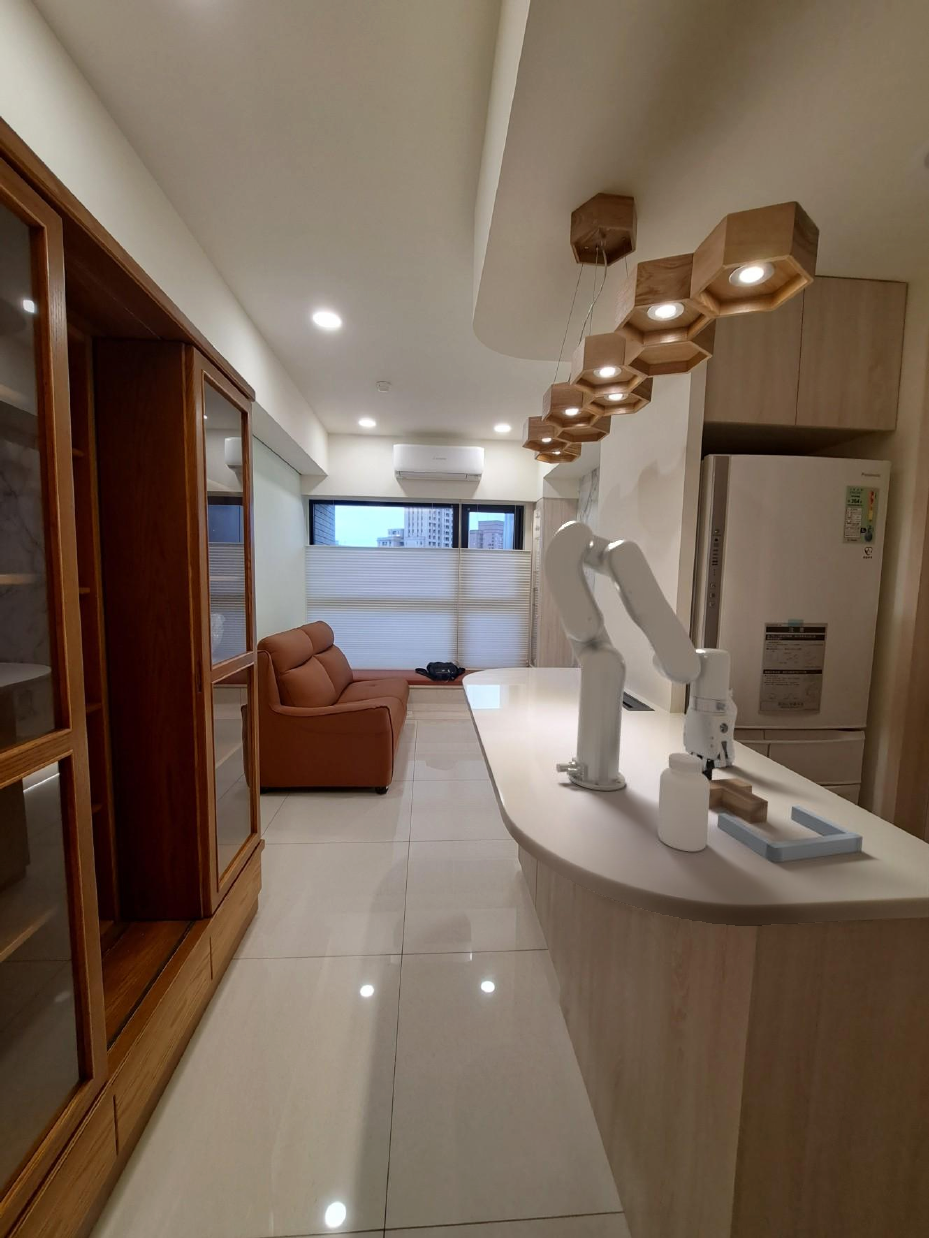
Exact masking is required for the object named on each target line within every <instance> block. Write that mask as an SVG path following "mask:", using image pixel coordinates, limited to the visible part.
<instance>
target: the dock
mask: <svg viewBox="0 0 929 1238" xmlns="http://www.w3.org/2000/svg"><path fill="white" fill-rule="evenodd" d="M790 813H791V814H790V819H791V820H792V821H795V822H797V823H799V824H801V825H802V826H805V827H807V828H808V829H810V830H812V831H815V832H816V833H818V834H820V835H822V836H816V837H815V836H814V837H807V838H798V839H797V838H796V839H791V840H784V841H783V840H782V841H775V842H774V841H773V840H770V839H769V838H768V837H766V836H764V835H762V834H761V833H759V832H757V831H755V830H754V829H752V828H751V827H749V826H747V825H746V824H745V823H742V822H741V821H739V820H737V819H735V818H734V817H732V816H731V815H729V814H727V813H726V812H725V813H718V814H717V815H718V816H717V826H716V827H717V828H718V829H720V830H722V831H723V832H725V833H726V834H728V835H729V836H731V837H733V838H734V839H736V840H737V841H739V842H741V843H742V844H744V845H746V846H747V847H748V848H750V849H751V850H753V851H754V852H757V853H758V854H759V855H760V856H762V857H764V858H765V859H767V860H768V861H770V862H771V863H773V864H777V863H784V862H791V861H797V860H798V861H799V860H805V859H813V858H818V857H819V858H820V857H827V856H834V855H841V854H847V853H854V852H862V849H863V846H862V845H863V836H862V835H859V834H858V833H855V832H854V831H852V830H850V829H847V828H845V827H844V826H841V825H839V824H836V823H835V822H832V821H830V820H829V819H827V818H825V817H823V816H821V815H818V814H816V813H814V812H812V811H810V810H807V809H806V808H804V807H801V806H799V805H793V806H791V812H790Z"/></svg>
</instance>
